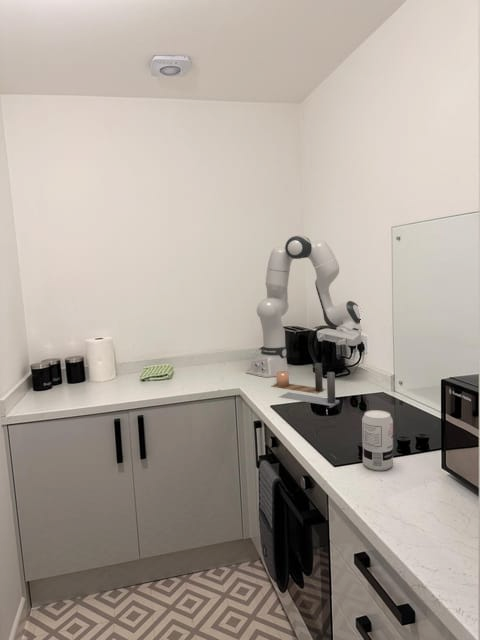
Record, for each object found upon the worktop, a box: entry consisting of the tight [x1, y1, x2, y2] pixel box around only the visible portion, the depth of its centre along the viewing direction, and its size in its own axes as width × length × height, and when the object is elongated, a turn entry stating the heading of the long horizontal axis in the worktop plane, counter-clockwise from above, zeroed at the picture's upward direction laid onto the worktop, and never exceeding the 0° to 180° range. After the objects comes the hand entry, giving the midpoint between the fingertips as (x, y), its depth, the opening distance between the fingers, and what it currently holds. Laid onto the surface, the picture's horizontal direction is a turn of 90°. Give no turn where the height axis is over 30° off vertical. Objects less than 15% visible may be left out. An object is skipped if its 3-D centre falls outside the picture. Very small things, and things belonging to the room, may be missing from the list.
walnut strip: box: [270, 362, 327, 395], centre depth 216 cm, size 24×8×13 cm, turn 52°
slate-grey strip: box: [278, 371, 340, 409], centre depth 200 cm, size 24×8×13 cm, turn 52°
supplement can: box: [361, 409, 394, 472], centre depth 137 cm, size 8×8×15 cm
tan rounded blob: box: [275, 371, 290, 387], centre depth 222 cm, size 6×6×6 cm
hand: (328, 341), depth 220 cm, fingers open, 8 cm apart
